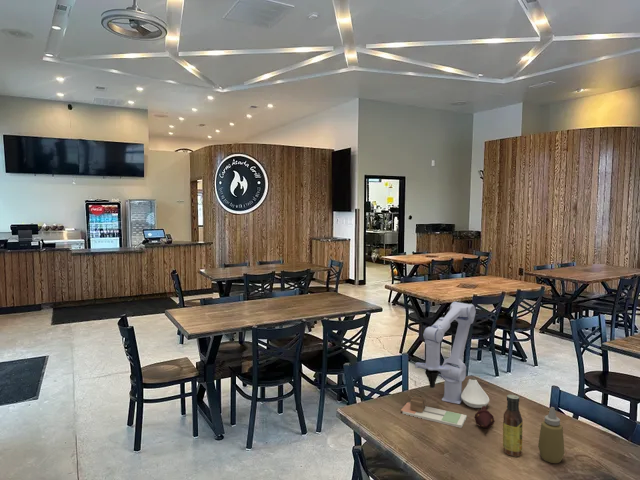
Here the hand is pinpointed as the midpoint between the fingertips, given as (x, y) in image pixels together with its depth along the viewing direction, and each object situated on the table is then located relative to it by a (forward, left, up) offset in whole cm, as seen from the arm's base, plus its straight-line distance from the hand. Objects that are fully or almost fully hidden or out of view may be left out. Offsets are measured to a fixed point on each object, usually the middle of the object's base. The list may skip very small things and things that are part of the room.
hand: (432, 387), depth 183 cm
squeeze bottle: (+16, +45, -11) cm, 49 cm away
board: (+4, +2, -10) cm, 11 cm away
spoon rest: (-21, +13, -11) cm, 27 cm away
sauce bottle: (+18, +33, -11) cm, 39 cm away
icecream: (+3, +22, -11) cm, 24 cm away
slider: (+4, -5, -9) cm, 11 cm away
